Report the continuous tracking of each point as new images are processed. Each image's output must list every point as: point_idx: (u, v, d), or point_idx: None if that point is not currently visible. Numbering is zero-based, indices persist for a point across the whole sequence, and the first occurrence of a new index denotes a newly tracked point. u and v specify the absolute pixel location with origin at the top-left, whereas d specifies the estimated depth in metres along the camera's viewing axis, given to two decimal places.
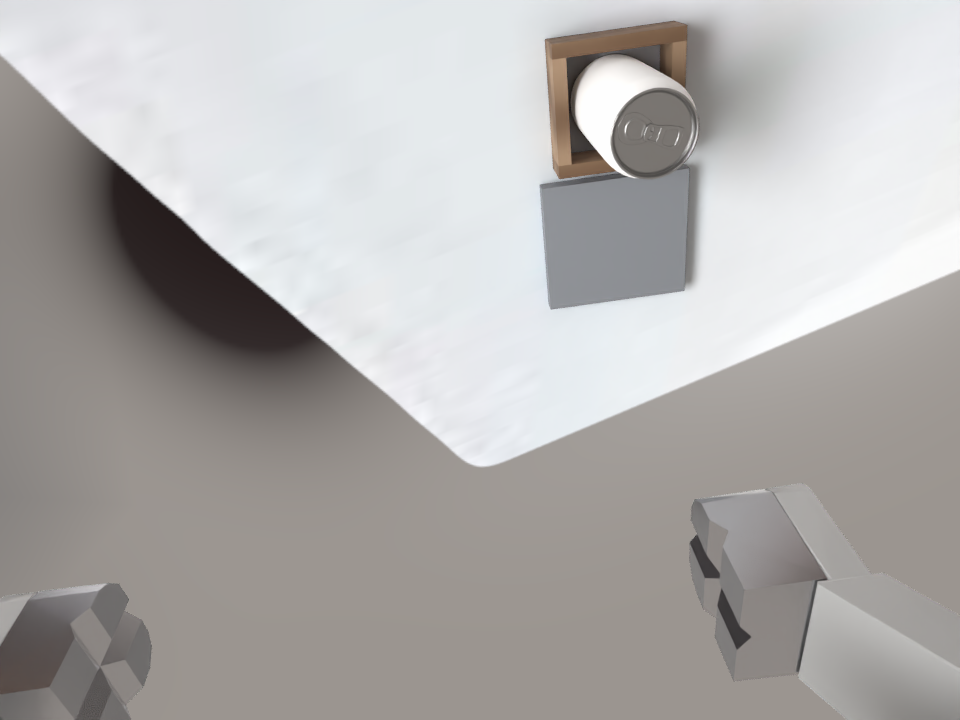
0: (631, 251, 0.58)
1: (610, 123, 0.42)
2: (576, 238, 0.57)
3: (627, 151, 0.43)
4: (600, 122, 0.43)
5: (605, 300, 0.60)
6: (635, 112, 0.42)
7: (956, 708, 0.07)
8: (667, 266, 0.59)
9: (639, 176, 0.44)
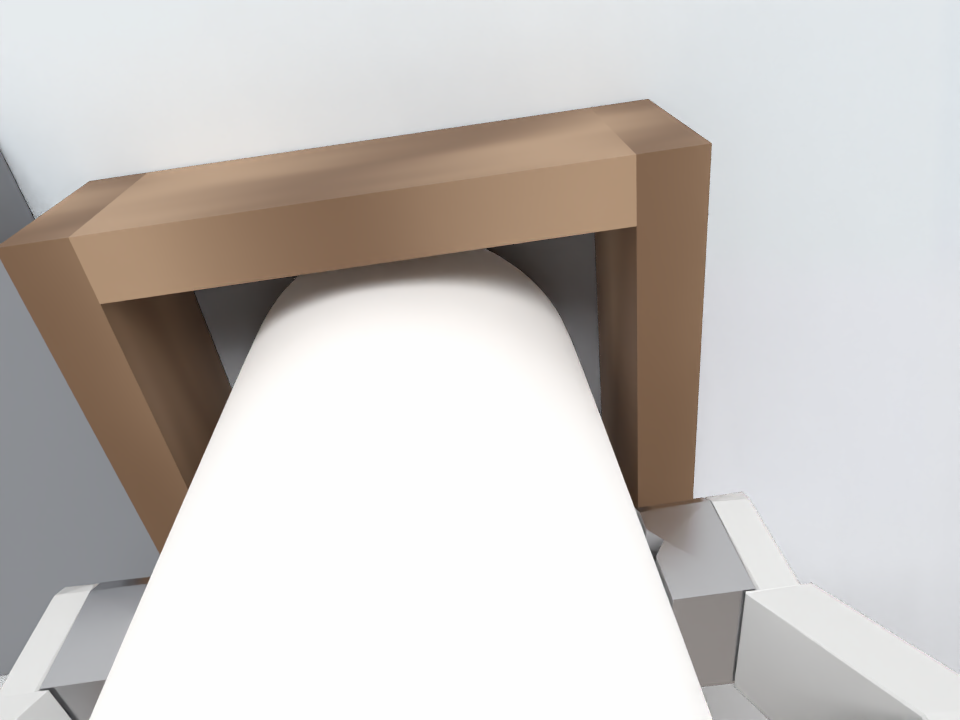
0: None
1: None
2: None
3: None
4: None
5: None
6: None
7: None
8: None
9: None
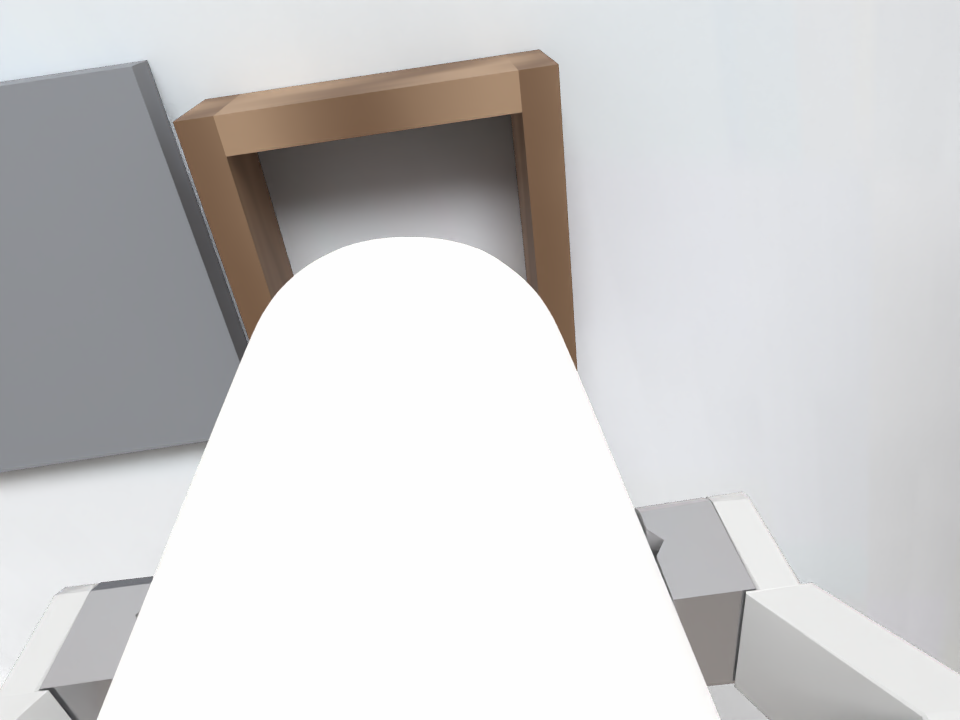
0: (16, 344, 0.21)
1: None
2: (3, 191, 0.19)
3: None
4: None
5: None
6: None
7: (874, 719, 0.07)
8: (6, 432, 0.23)
9: None
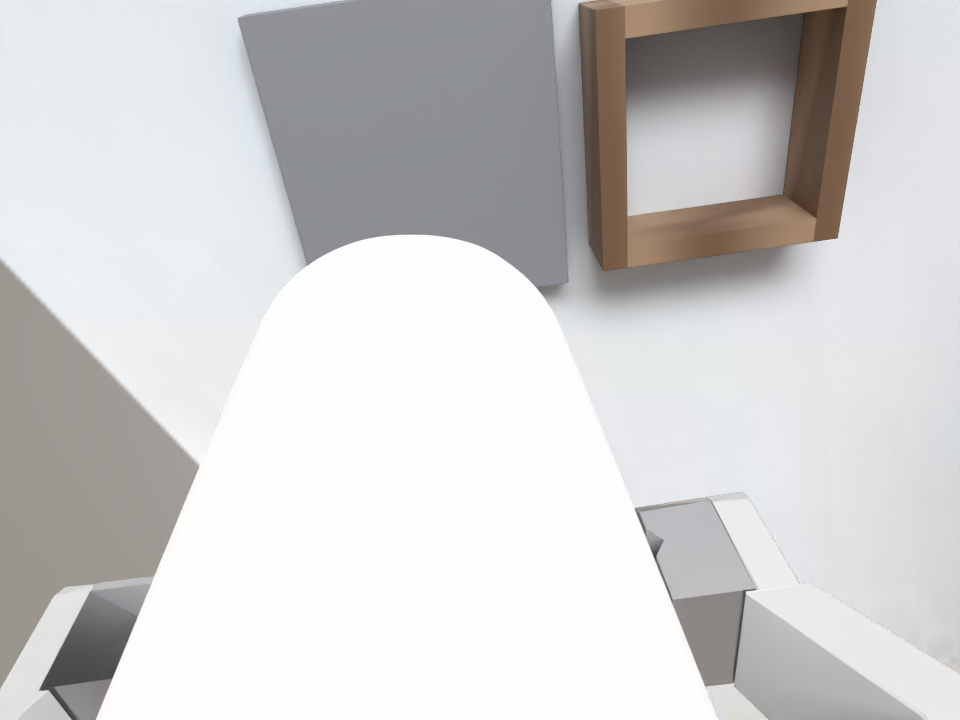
0: (402, 200, 0.28)
1: None
2: (429, 71, 0.25)
3: None
4: None
5: (280, 157, 0.26)
6: None
7: (873, 719, 0.07)
8: None
9: None
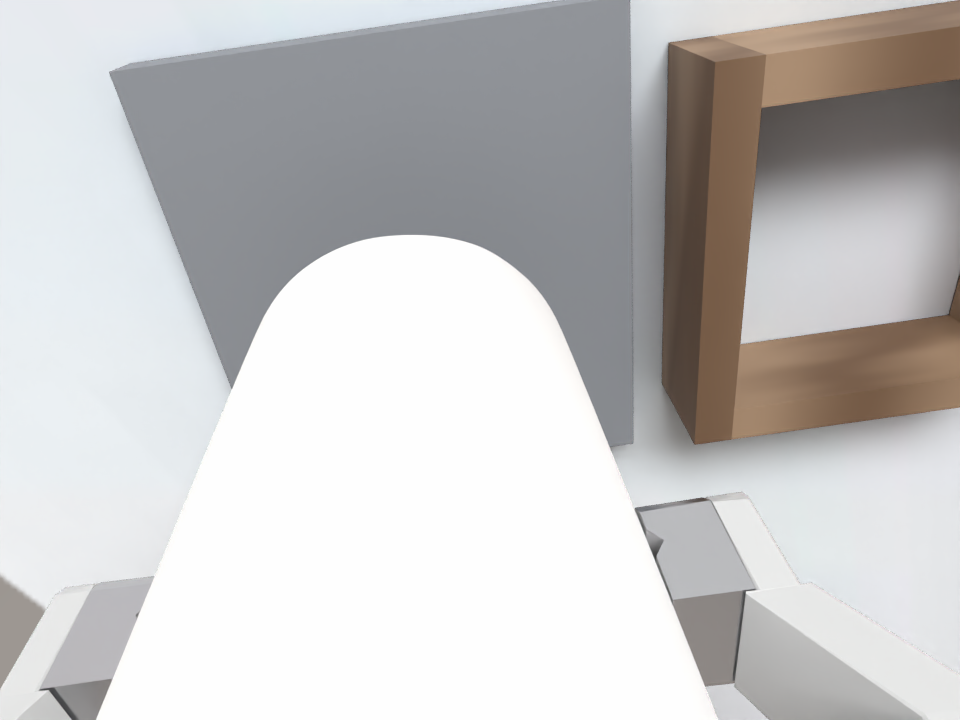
0: None
1: None
2: (430, 153, 0.16)
3: None
4: None
5: (196, 282, 0.17)
6: None
7: None
8: None
9: None
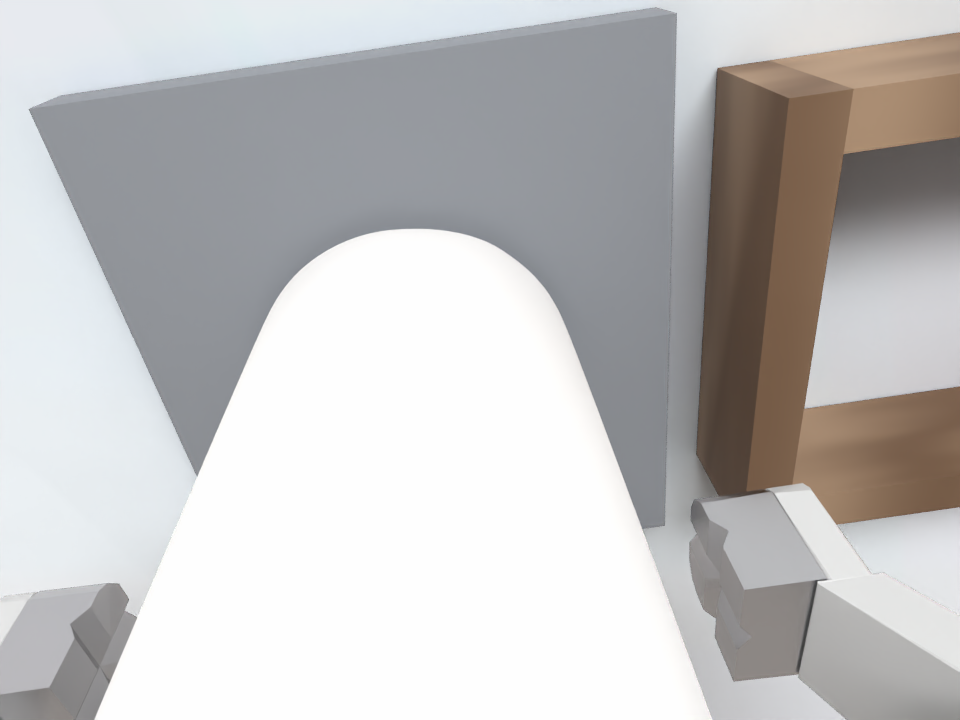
0: None
1: None
2: (428, 203, 0.13)
3: None
4: None
5: (148, 355, 0.14)
6: None
7: (957, 708, 0.07)
8: None
9: None
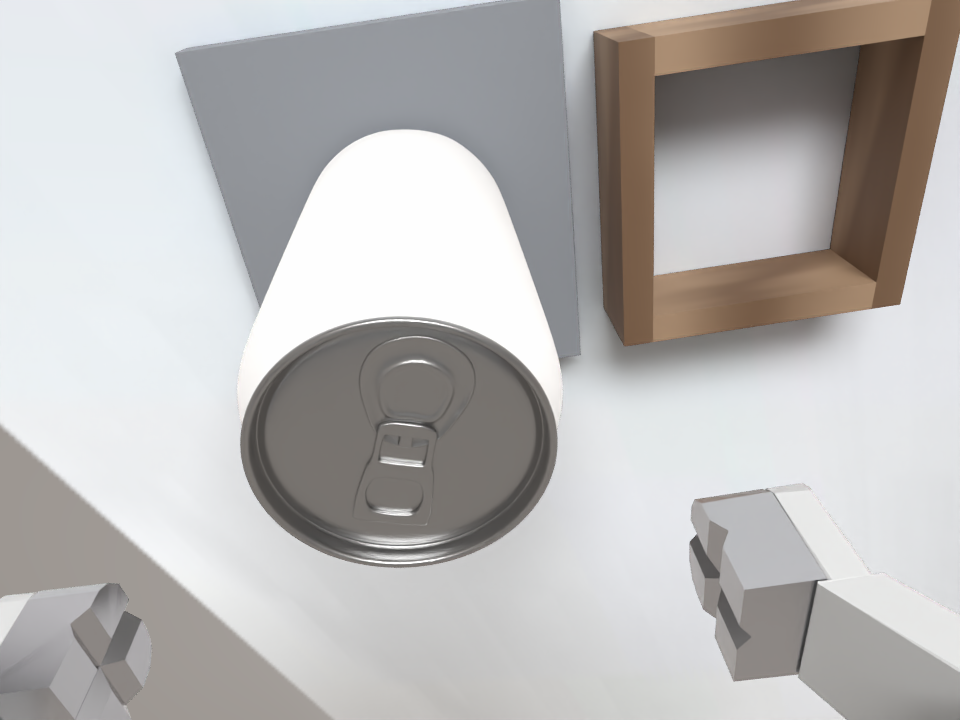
0: None
1: (430, 304, 0.11)
2: (414, 114, 0.21)
3: (334, 378, 0.12)
4: (420, 261, 0.12)
5: (234, 218, 0.22)
6: (474, 383, 0.12)
7: (956, 708, 0.07)
8: None
9: (248, 435, 0.12)
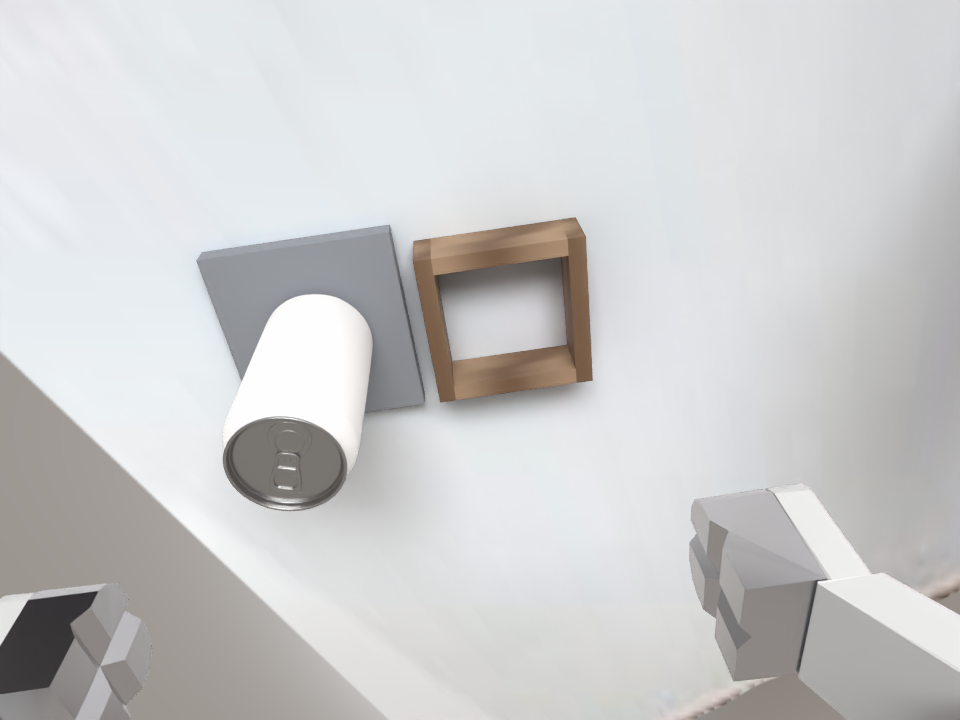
0: None
1: (293, 410, 0.30)
2: (319, 285, 0.40)
3: (258, 436, 0.31)
4: (291, 391, 0.31)
5: (226, 335, 0.41)
6: (311, 438, 0.31)
7: (956, 708, 0.07)
8: None
9: (226, 457, 0.31)
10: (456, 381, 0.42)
